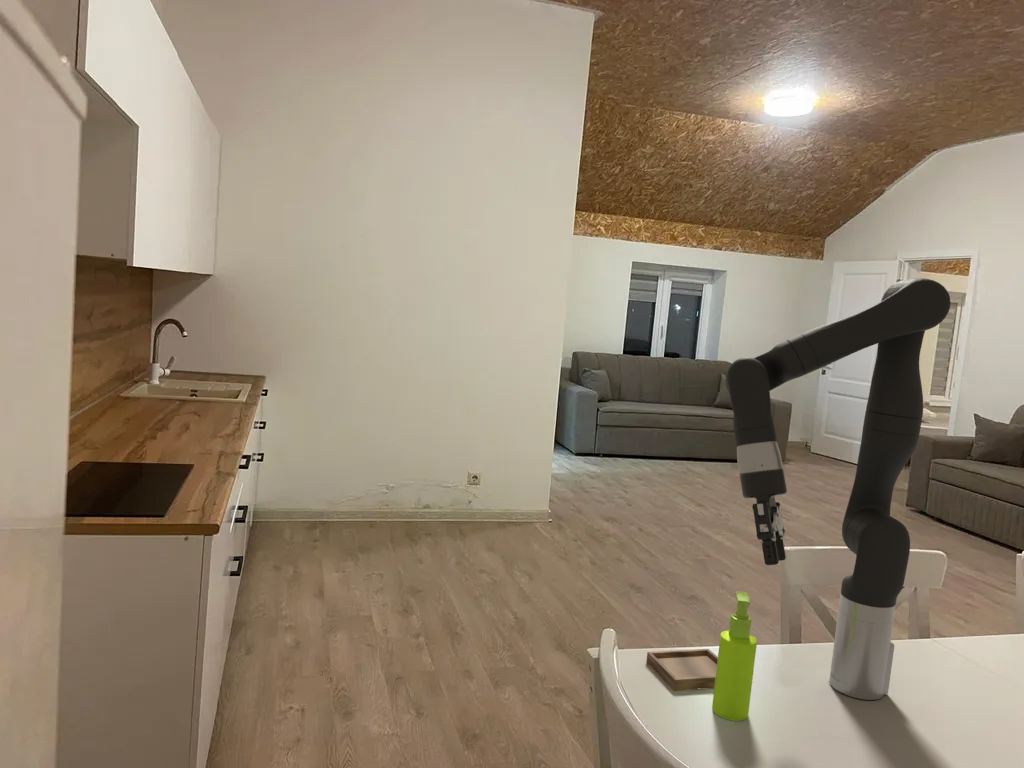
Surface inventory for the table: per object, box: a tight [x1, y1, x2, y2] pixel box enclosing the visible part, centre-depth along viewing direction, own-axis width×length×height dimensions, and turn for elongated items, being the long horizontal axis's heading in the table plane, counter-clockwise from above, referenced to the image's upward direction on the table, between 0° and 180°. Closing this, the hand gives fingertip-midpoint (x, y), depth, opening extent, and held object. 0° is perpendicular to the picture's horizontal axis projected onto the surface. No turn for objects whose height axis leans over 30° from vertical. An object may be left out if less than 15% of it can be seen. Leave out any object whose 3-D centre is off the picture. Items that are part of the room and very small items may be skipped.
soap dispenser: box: [711, 590, 758, 722], centre depth 132 cm, size 6×7×20 cm
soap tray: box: [646, 648, 718, 692], centre depth 145 cm, size 13×11×2 cm
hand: (776, 562), depth 137 cm, fingers open, 8 cm apart
